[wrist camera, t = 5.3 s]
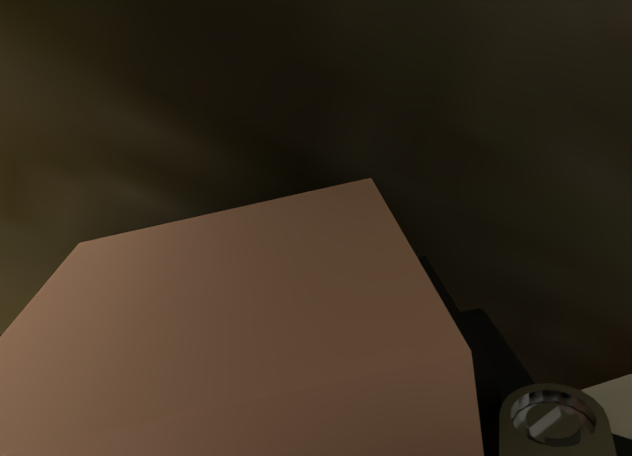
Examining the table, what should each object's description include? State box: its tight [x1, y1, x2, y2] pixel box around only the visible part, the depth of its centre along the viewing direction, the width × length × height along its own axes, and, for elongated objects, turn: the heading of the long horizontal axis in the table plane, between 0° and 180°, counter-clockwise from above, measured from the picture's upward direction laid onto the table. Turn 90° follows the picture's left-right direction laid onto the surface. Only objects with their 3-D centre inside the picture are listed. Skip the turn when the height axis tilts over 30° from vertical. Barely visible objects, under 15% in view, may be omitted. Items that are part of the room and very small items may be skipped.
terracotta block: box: [0, 178, 484, 456], centre depth 9 cm, size 6×6×6 cm
